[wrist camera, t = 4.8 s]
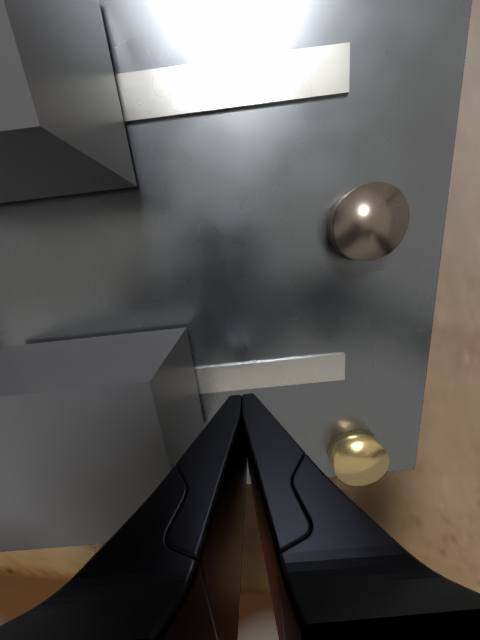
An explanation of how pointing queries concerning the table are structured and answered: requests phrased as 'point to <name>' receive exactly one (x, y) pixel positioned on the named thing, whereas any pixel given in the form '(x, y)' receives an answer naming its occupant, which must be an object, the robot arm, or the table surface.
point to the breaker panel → (266, 212)
